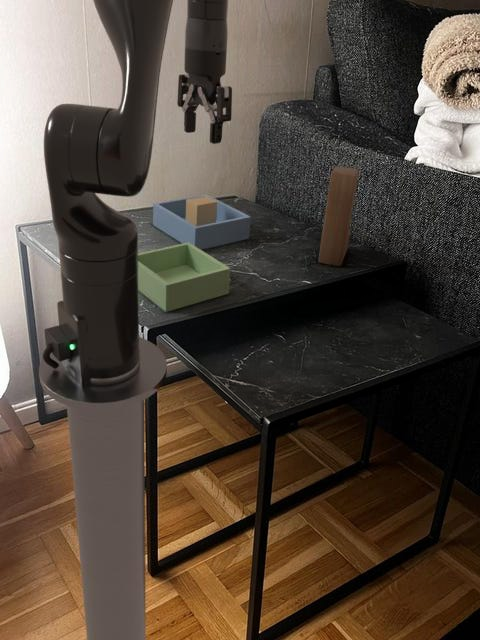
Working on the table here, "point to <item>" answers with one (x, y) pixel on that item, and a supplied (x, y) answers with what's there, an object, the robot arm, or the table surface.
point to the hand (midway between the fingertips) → (202, 137)
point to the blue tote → (224, 231)
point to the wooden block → (338, 215)
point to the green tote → (181, 276)
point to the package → (201, 211)
